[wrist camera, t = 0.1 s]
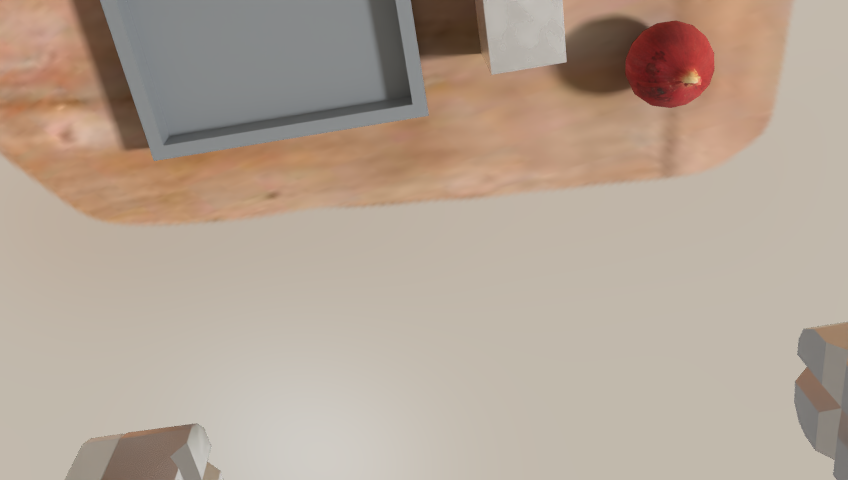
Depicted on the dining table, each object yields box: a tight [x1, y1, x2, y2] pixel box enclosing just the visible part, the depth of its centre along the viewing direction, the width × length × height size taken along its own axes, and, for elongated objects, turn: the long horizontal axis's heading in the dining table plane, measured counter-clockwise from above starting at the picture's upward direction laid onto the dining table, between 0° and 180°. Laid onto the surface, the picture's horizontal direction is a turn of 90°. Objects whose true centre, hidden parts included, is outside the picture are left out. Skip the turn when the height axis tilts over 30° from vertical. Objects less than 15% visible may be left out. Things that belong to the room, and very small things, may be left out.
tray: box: [100, 0, 429, 161], centre depth 54 cm, size 14×20×3 cm
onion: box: [625, 21, 714, 108], centre depth 53 cm, size 6×6×8 cm
